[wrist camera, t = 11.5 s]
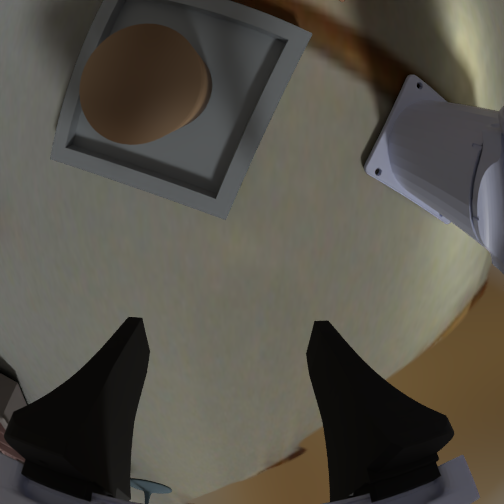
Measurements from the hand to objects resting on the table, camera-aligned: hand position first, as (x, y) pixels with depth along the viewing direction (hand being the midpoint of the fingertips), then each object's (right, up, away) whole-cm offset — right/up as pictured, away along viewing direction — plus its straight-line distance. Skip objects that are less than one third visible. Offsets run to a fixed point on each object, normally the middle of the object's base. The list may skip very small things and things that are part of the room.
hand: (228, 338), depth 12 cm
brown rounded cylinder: (-4, +13, +2) cm, 14 cm away
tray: (-4, +13, +3) cm, 14 cm away
